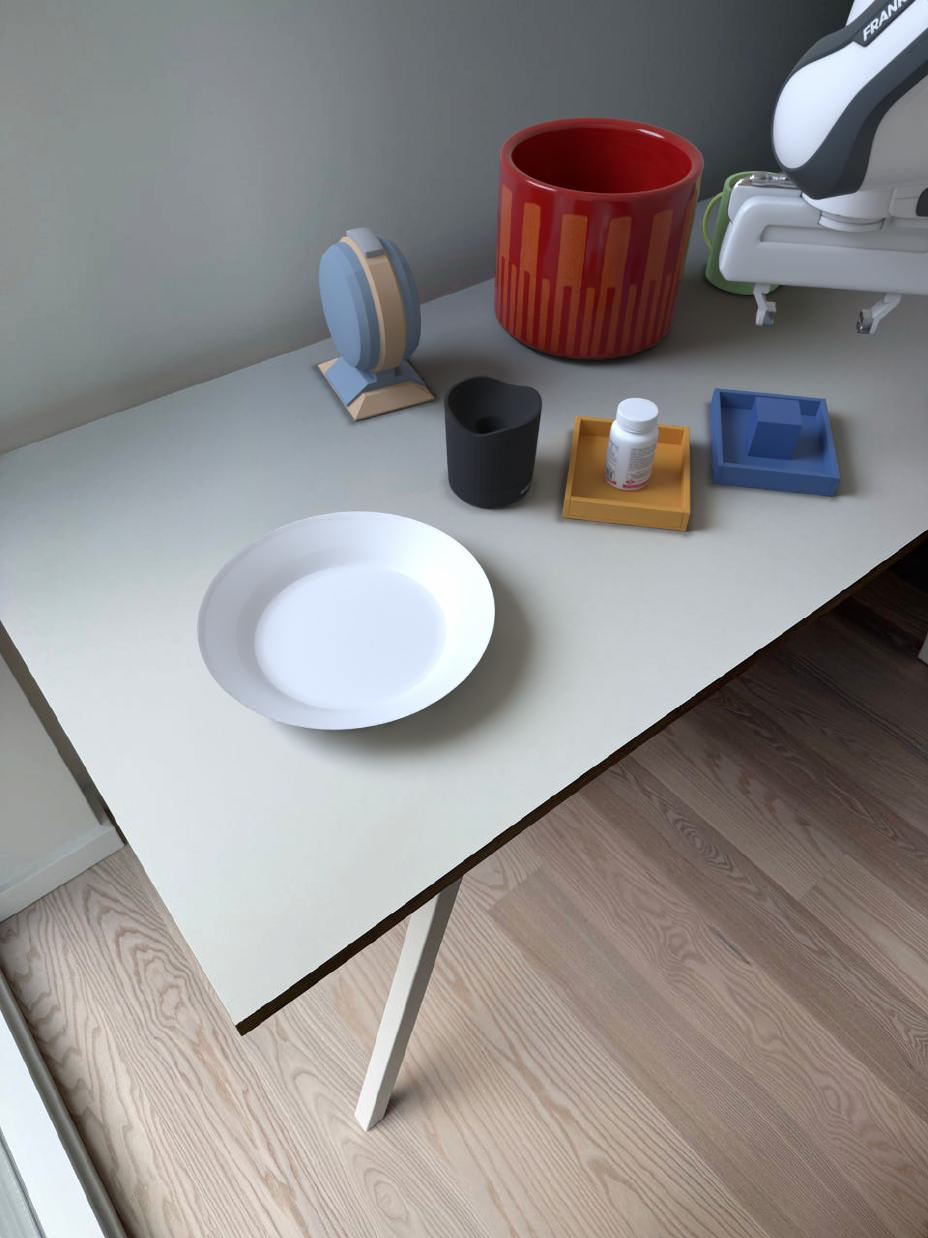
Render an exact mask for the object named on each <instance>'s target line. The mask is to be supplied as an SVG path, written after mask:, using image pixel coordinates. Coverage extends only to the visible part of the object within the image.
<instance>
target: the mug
mask: <svg viewBox="0 0 928 1238" xmlns="http://www.w3.org/2000/svg"><path fill="white" fill-rule="evenodd" d="M753 172H763V171H759V170H757V171H756V170H753V171H742V172H737V173H734V174H732V175H730V176H729V177H727V178H726V180H725V181H724V185H723V190H722V191H721V192H720V193H718V194H716V195H715V196H714V197H713V198H712V199H711V201H710V202H709V203H708V205H707V207H706V209H705V212H704V213H703V214H704V215H703V219H702V233H703V238H704V241H705V244H706V246H707V248H708V249H709V253H708V254H709V255H708V258H707V264H706V269H705V278H706V279H707V280H708V281H709V283H710V284H711V285H712V286H715V287H716V288H718V289H721V290H722V291H725V292H729V293H732V294H737V295H738V294H739V295H746V296H754V293H753V284H752V283H750V282H737V281H728V280H726V279H725V278H724V276H723V275H722V273H721V271H720V268H719V256H720V251H721V247H722V243H723V240H724V237H725V233H726V230H727V227H728V225H729V222H730V220H729V218H728V216H727V205H728V200H729V195H730V192H731V189H732V188H733V186H734V185H735V184H736V183H737V182H738V181H739V180H741V179H743V178H745V177H748V176H751V174H752V173H753ZM767 172H768V174H777V173H776V172H771V171H770V172H769V171H767ZM744 184H750V181H749V182H745V183H744ZM718 201H720V203H719V207H718V212H717V217H716V221H715V227H714V232H713V236H712V241H711V239H710V236H709V229H708V222H709V218H710V217H709V216H710V214H711V211H712V209H713V207H714V205H716V203H717V202H718ZM779 286H780V285H777V284H771V286H770V289H769V293H771V292H773V291H775V290H776V289H777V288H779Z"/></svg>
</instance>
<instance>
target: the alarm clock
mask: <svg viewBox="0 0 928 1238" xmlns="http://www.w3.org/2000/svg"><path fill="white" fill-rule="evenodd" d="M345 233H346V236H342V237H341V239H340V240H339V241H338V242H336V243H333V244H331V245H330V246H329V248H328V249H327V250H326V251H324V253H323V254H322V256H321V258H320V263H319V268H318V269H319V271H318V285H319V294H320V301H321V305H322V310H323V315H324V318H325V322H326V325H327V328H328V331H329V334H330V336H331V339H332V341H333V343H334V345H335V347H336V349H337V351H338V353H339V354H340V356H339V357H336V358H333V359H331V360H330V359H329V360H327V361H325V362H322V363H319V364H317V367H318V369H319V371H320V372H321V374H322V375H323V376H324V377H325V379H326V380H327V382H328V383H329V385H330V386H331V388H332V389H333V391H334V393H335V394H336V395H337V397H338V398H339V399H340V401H341V403H342V404H343V405H344V407H345V408H346V410H347V411H348V413H349V414H350V416H351V417H352V418H353V420H354V421H355V422H357V421H362V420H366V419H368V418H373V417H376V416H380V415H383V414H387V413H391V412H394V411H398V410H401V409H405V408H409V407H412V406H416V405H420V404H423V403H427V402H431V401H435V399H436V398H435V396H434V395H433V394H432V393H431V391H430V390H429V389H428V388H427V386H426V385H427V384H426V383H425V381H423V379H422V378H421V377H420V375H419V374H418V373H417V372H416V371H415V369H414V368H413V367H412V366H411V364H410V363H409V361H407V359H409V358H411V356H412V355H413V354H414V353H415V352H416V350H417V349H418V347H419V345H420V339H421V335H422V334H421V333H422V314H421V304H420V299H419V292H418V289H417V285H416V281H415V278H414V274H413V272H412V270H411V267H410V265H409V263H408V261H407V259H406V257H405V255H404V253H403V252H402V250H401V249H400V248H399V246H398V245H397V243H395V242H394V241H392V240H391V239H389V238H387V237H385V236H383V235H376V234H375V232H373V231H372V230H371V229H369V228H367V227H365V226H362V227H358V228H352V229H348V230H346V231H345Z"/></svg>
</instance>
